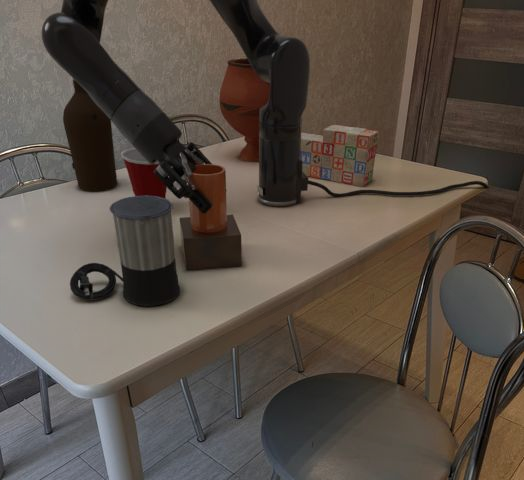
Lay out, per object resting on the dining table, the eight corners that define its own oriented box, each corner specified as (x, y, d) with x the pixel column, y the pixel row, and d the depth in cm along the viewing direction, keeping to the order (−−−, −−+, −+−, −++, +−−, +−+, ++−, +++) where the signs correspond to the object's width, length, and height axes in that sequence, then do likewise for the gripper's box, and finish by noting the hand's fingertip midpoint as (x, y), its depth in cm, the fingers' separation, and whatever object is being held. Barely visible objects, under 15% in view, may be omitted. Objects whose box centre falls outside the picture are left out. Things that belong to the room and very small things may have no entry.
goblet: (301, 157, 155) (305, 60, 141) (255, 171, 143) (255, 67, 129) (254, 145, 166) (254, 54, 151) (207, 157, 154) (203, 59, 140)
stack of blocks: (288, 173, 142) (290, 124, 135) (299, 167, 146) (301, 119, 139) (363, 187, 133) (370, 135, 126) (372, 180, 138) (379, 130, 131)
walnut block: (233, 244, 104) (232, 214, 100) (241, 266, 96) (241, 234, 92) (182, 247, 102) (179, 217, 99) (186, 270, 94) (183, 238, 91)
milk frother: (191, 297, 86) (184, 208, 78) (97, 326, 79) (78, 231, 70) (152, 265, 96) (142, 182, 87) (65, 289, 88) (45, 201, 80)
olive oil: (128, 182, 135) (113, 71, 120) (103, 194, 126) (84, 78, 112) (93, 177, 138) (74, 68, 124) (66, 189, 130) (43, 74, 115)
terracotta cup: (224, 218, 99) (222, 163, 93) (229, 231, 93) (227, 174, 88) (189, 220, 98) (185, 164, 92) (192, 233, 92) (188, 175, 87)
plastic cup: (167, 218, 115) (161, 161, 108) (120, 214, 116) (112, 157, 109) (183, 201, 123) (179, 147, 116) (139, 197, 125) (132, 144, 118)
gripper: (141, 120, 81) (217, 202, 85) (176, 103, 92) (242, 176, 96) (114, 153, 85) (188, 230, 89) (151, 133, 96) (215, 202, 100)
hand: (216, 202), depth 93 cm, fingers open, 7 cm apart
